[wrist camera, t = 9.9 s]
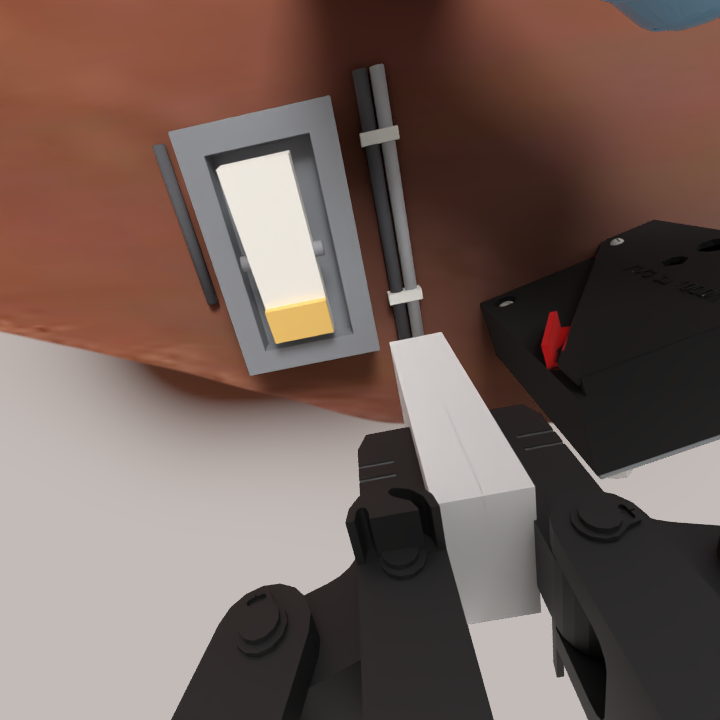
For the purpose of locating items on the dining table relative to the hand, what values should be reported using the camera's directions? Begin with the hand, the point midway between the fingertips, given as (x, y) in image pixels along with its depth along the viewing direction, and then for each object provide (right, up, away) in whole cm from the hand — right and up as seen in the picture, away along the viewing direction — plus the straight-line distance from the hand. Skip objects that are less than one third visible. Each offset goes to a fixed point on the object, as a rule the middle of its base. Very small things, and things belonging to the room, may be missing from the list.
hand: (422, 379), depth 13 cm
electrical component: (+20, +7, +31) cm, 37 cm away
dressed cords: (+1, +13, +27) cm, 31 cm away
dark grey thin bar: (-18, +13, +27) cm, 35 cm away
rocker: (-8, +9, +21) cm, 24 cm away
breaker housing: (-8, +12, +28) cm, 31 cm away
